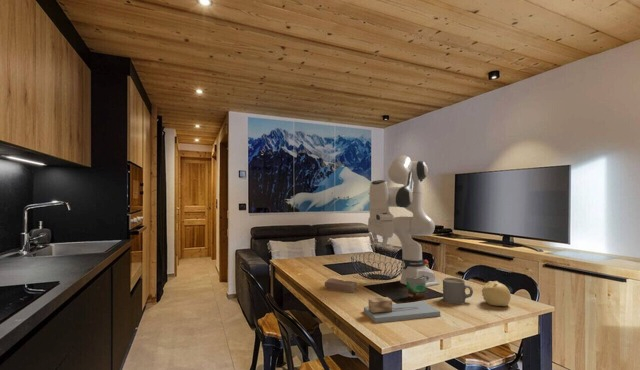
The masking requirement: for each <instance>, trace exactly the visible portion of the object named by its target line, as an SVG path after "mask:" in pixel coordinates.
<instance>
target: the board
mask: <svg viewBox="0 0 640 370" xmlns="http://www.w3.org/2000/svg"><path fill="white" fill-rule="evenodd" d="M363 312H364V313H365V314H366V315H367V316H368V317H369V318H370V319H371V320H372V321H373V322H374V323H375V324H377V323H388V322H398V321H407V320H415V319H416V320H417V319H424V318H425V319H426V318H434V317H435V318H436V317H441V310H438V309H437V308H436V307H434V306H432V305H431V304H429V303H427V302H425V301H423V300H422V301H415V302H413V301H412V302H405V303H404V302H402V303H394V304H393V303H392V312H388V313H378V314H372V313H371V312H370V311H369V306H363Z"/></svg>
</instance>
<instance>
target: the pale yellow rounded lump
mask: <svg viewBox="0 0 640 370" xmlns="http://www.w3.org/2000/svg"><path fill="white" fill-rule="evenodd" d="M481 295H482V298H483V300H484V301H485V302H486V303H487V304H488V305H489V306H495V307H498V306H499V307H506V306H508V305H509V303H510V301H511V291H510V290H509V288H508V287H507V286H506V285H505V284H503V283H502V282H499V281H498V280H494V281H491V280H490V281H489V280H488V282H486V283H485V284H484V285H483V286H482V288H481Z"/></svg>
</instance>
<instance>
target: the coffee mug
mask: <svg viewBox="0 0 640 370" xmlns="http://www.w3.org/2000/svg"><path fill="white" fill-rule="evenodd" d="M466 289H468V290H469V293H466ZM473 294H474V290H473V287H472V286H471V285H469V284H466V282H465V279H462V278H457V277H444V278H442V300H443V302H446V303H448V304H453V305H462V304H465V303H466V299H468V298H471V297H472V296H473Z"/></svg>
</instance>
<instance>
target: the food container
mask: <svg viewBox="0 0 640 370" xmlns="http://www.w3.org/2000/svg"><path fill="white" fill-rule="evenodd" d="M406 282H407V285H406V290H407V297H408V298H409V299H417V300H418V299H424V298H425V295H426V286H425V284H426V282H427V278H426V276H424V275H422V277H414V278H407V277H406Z"/></svg>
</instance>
